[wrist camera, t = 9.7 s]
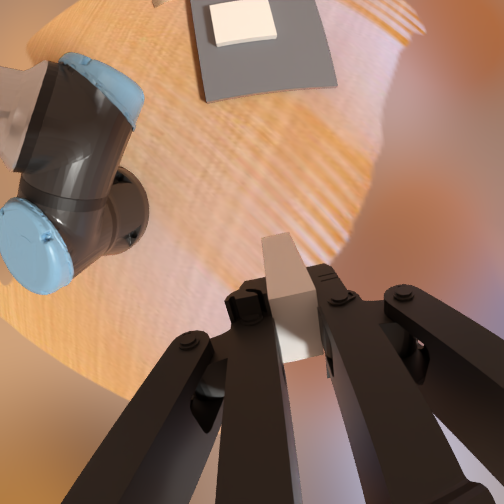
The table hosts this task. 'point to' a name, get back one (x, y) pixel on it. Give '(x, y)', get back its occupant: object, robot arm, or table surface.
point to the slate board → (265, 54)
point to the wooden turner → (159, 2)
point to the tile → (242, 22)
